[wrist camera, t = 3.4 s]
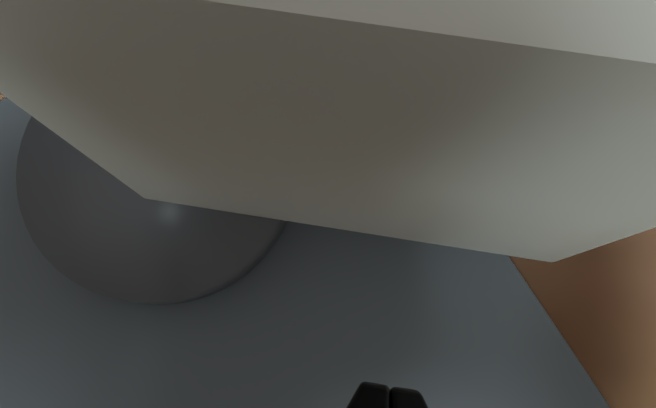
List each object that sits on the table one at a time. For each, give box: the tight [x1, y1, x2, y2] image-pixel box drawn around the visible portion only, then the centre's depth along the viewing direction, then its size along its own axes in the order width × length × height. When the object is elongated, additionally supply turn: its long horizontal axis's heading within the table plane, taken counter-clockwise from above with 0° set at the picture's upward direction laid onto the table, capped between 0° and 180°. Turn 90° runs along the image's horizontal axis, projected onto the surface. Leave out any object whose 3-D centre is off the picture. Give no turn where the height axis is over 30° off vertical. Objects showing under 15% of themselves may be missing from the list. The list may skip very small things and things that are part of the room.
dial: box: [0, 0, 656, 305], centre depth 10 cm, size 14×7×11 cm, turn 81°
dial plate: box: [0, 98, 610, 408], centre depth 15 cm, size 18×17×1 cm
